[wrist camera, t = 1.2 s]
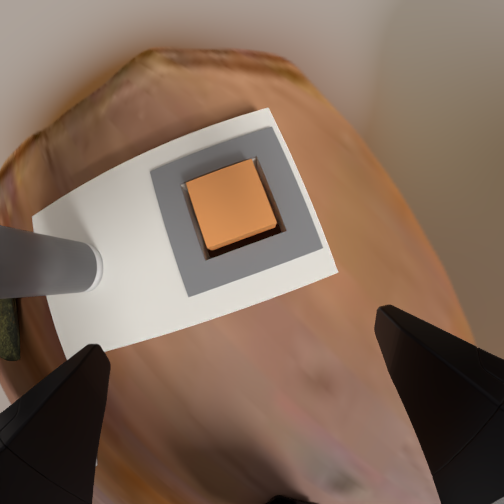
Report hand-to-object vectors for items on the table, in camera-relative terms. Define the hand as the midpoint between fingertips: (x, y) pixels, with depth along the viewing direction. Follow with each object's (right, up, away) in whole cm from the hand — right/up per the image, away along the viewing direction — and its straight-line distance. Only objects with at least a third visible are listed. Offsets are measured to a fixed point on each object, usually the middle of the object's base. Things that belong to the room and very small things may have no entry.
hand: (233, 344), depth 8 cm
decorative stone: (-26, -3, +14) cm, 30 cm away
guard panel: (-7, +3, +14) cm, 16 cm away
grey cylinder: (-13, +1, +12) cm, 18 cm away
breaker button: (-1, +6, +12) cm, 14 cm away
